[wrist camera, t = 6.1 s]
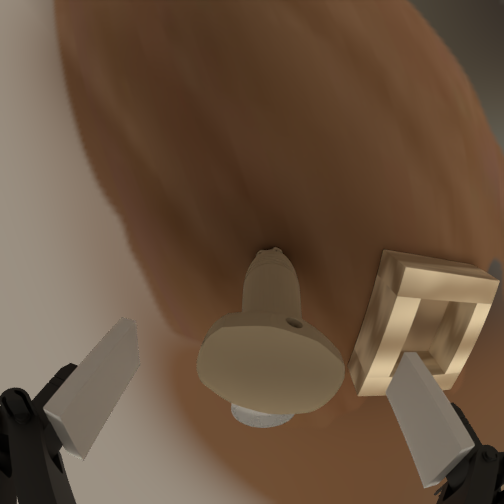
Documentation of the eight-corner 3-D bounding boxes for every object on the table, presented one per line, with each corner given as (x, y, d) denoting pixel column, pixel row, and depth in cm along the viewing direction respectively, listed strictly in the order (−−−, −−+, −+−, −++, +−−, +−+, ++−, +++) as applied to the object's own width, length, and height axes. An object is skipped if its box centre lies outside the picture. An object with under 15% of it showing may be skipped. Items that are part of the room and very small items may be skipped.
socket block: (383, 249, 25) (405, 267, 20) (473, 264, 24) (499, 281, 20) (347, 365, 28) (357, 396, 24) (433, 364, 28) (450, 389, 23)
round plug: (230, 350, 28) (225, 392, 23) (289, 344, 28) (294, 385, 22) (240, 389, 30) (237, 429, 24) (293, 383, 30) (297, 424, 24)
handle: (293, 297, 26) (311, 423, 12) (228, 273, 26) (185, 388, 12) (314, 251, 25) (364, 353, 11) (247, 225, 25) (216, 305, 10)
